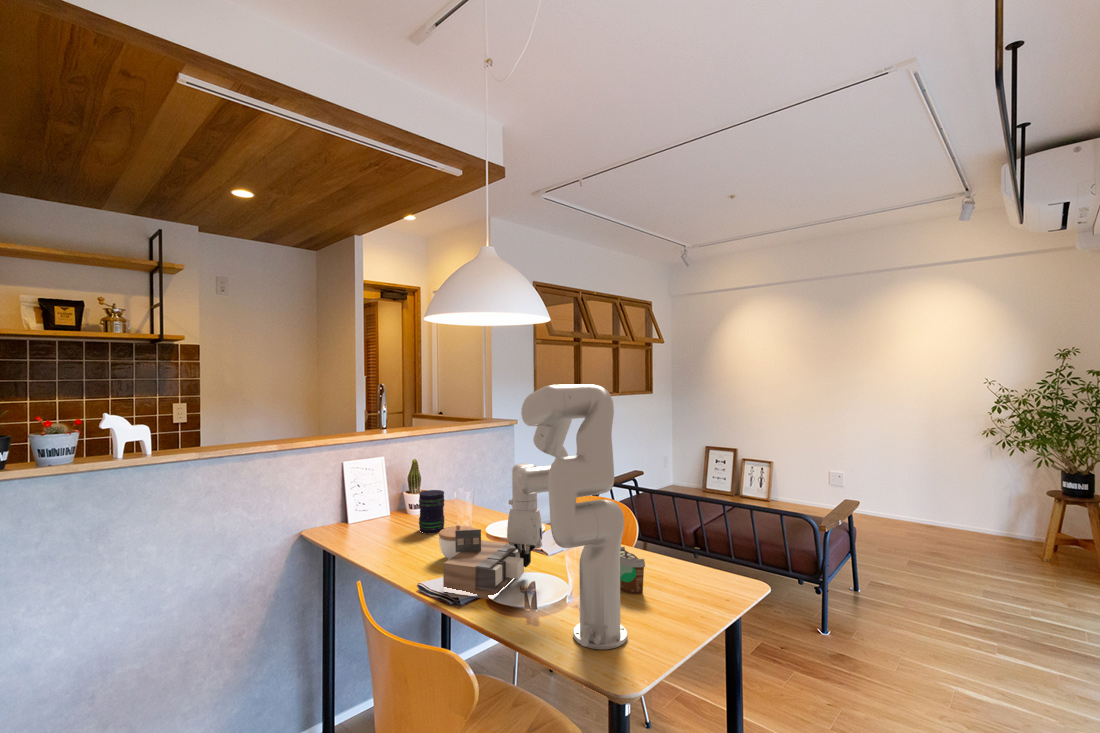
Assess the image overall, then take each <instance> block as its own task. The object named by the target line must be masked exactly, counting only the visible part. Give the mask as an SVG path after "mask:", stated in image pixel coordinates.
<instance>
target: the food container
mask: <svg viewBox="0 0 1100 733" xmlns="http://www.w3.org/2000/svg"><path fill="white" fill-rule="evenodd" d="M625 547H626V546H621V549H620V592H622V593H624V594H629V595H642V594H643V593H644V578H645V577H644V573H645V572H644V571H645V567H646V563H645V558H639V557H637V556H636V555H635V554H633V553H631V552H629V551H627V550H626V548H625Z"/></svg>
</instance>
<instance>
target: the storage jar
mask: <svg viewBox="0 0 1100 733" xmlns="http://www.w3.org/2000/svg"><path fill="white" fill-rule="evenodd" d="M418 495H419V498H418V504H419V505H418V507H419V518H418V525H419V530H420V531H421V532H423V533H435V534H438V533H437V532H440V531H441V530H442V529H445V515H444V512H445V511H444V507H445V491H444V490H440V489H430V490H429V489H428V490H424V491H421V492H419V494H418ZM423 533H422V534H423Z"/></svg>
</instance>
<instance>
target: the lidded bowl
mask: <svg viewBox="0 0 1100 733" xmlns="http://www.w3.org/2000/svg"><path fill="white" fill-rule="evenodd" d="M476 529H477V528H476V527H472V526H467V525H460V524H456V525H455V526H448V527H446V528H445V527H444V529H442V530H441V531H440V532H439V533H438V536H439V547H440V548H439V549H440V551H441V554H442V555H443V556H444V557H445V558H446V561H447V560H449V559H450V558H452V557H454V556H455V555H457V554H458V553H460V552H456V537H455V531H456V530H476Z"/></svg>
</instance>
